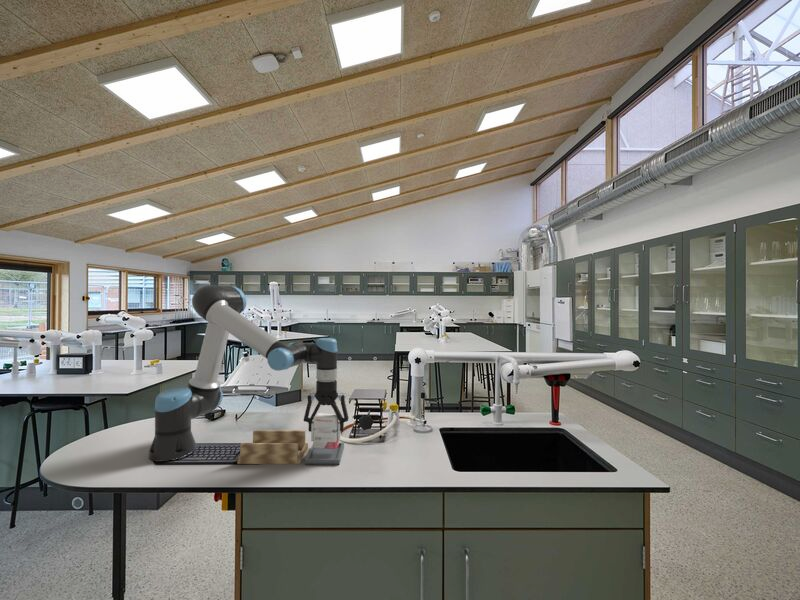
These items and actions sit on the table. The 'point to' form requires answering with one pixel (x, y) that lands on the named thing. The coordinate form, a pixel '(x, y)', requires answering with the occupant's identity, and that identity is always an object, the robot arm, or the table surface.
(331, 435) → the ink box
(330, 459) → the tray
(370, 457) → the table surface
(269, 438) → the rack
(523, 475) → the table surface
